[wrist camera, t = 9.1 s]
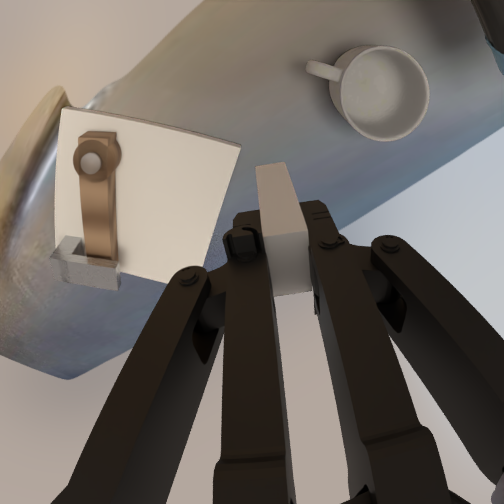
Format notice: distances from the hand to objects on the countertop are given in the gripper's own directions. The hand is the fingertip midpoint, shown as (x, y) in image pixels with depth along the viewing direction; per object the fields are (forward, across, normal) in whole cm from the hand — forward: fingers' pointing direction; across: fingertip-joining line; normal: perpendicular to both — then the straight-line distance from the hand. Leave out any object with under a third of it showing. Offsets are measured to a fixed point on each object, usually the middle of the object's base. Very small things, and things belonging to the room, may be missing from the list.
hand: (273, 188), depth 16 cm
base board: (+23, +19, +9) cm, 31 cm away
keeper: (+23, +27, +15) cm, 38 cm away
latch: (+22, +23, +8) cm, 32 cm away
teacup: (+24, -12, -2) cm, 27 cm away
